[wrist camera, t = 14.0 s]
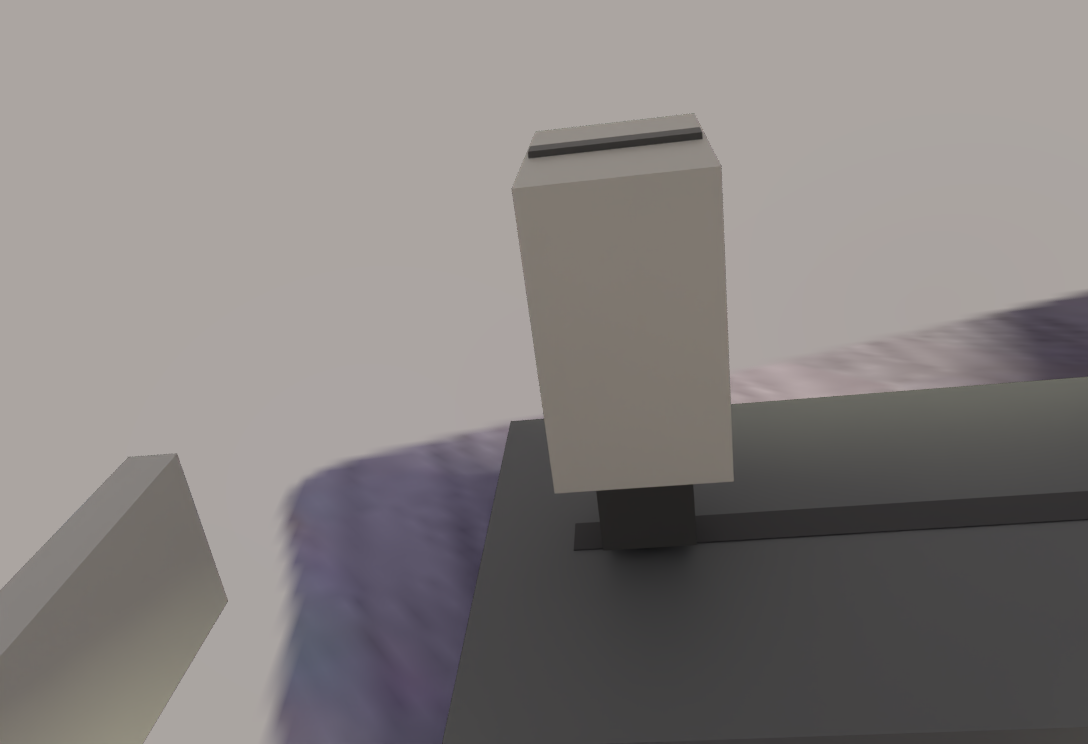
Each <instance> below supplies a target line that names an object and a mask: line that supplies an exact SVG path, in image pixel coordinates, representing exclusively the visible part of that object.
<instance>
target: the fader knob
mask: <svg viewBox="0 0 1088 744" xmlns="http://www.w3.org/2000/svg"><path fill="white" fill-rule="evenodd" d="M721 169H722V168H721V164H720V162H719V160H718V158H717V156H716V154H715V153H714V151H713V149H712V147H711V145H710V143H709V141H708V139H707V137H706V135H705V133H704V131H703V129H702V127H701V125H700V123H699V122H698V120H697V118H696V116H695V114H694V113H692V114H683V115H675V116H666V117H657V118H649V119H640V120H631V121H623V122H614V123H605V124H597V125H588V126H580V127H571V128H562V129H554V130H545V131H536V132H535V135H534V137H533V139H532V141H531V144H530V146H529V149H528V151H527V153H526V156H525V158H524V160H523V163H522V165H521V167H520V170H519V172H518V175H517V177H516V179H515V182H514V184H513V187H512V194H513V202H514V209H515V215H516V223H517V230H518V237H519V245H520V252H521V259H522V266H523V272H524V280H525V286H526V294H527V301H528V308H529V315H530V322H531V330H532V336H533V343H534V351H535V358H536V365H537V372H538V379H539V386H540V393H541V400H542V408H543V415H544V422H545V429H546V436H547V443H548V450H549V457H550V464H551V471H552V478H553V485H554V493H570V492H585V491H596V494H597V502H598V511H599V519H600V528H601V536H602V545H603V551H604V550H621V549H638V548H655V547H672V546H688V545H697V536H696V520H695V504H694V488H693V484H704V483H718V482H733V481H734V473H733V448H732V422H731V397H730V371H729V349H728V348H729V346H728V321H727V295H726V270H725V244H724V219H723V193H722V171H721Z"/></svg>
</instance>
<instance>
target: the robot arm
mask: <svg viewBox="0 0 1088 744" xmlns="http://www.w3.org/2000/svg"><path fill="white" fill-rule="evenodd" d="M227 602H228V600H227V597H226V594H225V591H224V588H223V585H222V582H221V579H220V576H219V574H218V571H217V568H216V565H215V562H214V559H213V556H212V553H211V550H210V548H209V545H208V542H207V539H206V536H205V533H204V530H203V527H202V525H201V522H200V519H199V516H198V513H197V510H196V507H195V504H194V501H193V498H192V496H191V493H190V490H189V487H188V484H187V481H186V478H185V475H184V472H183V470H182V467H181V464H180V461H179V458H178V455H177V454H164V455H151V456H136V457H128V458H127V459H126V460H125V461H124V462H123V463H122V464H121V465H120V467H119V468H118V469H117V470H116V471H115V472H114V473H113V474H112V475H111V476H110V477H109V478H108V479H107V480H106V481H105V482H104V483H103V484H102V485H101V486H100V487H99V488H98V489H97V490H96V491H95V493H93V495H92V496H91V497H90V498H89V499H88V500H87V501H86V502H85V503H84V504H83V505H82V506H81V507H80V508H79V509H78V510H77V511H76V512H75V513H74V514H73V515H72V516H71V518H69V519H68V521H67V522H66V523H65V524H64V525H63V526H62V527H61V528H60V529H59V530H58V531H57V532H56V533H55V534H54V535H53V536H52V537H51V538H50V539H49V540H48V541H47V542H46V544H44V546H43V547H42V548H41V549H40V550H39V551H38V552H37V553H36V554H35V555H34V556H33V557H32V558H31V559H30V560H29V561H28V562H27V563H26V564H25V565H24V566H23V568H22V569H21V570H19V572H17V574H16V575H15V576H14V577H13V578H12V579H11V580H10V581H9V582H8V583H7V584H6V585H5V586H4V587H3V588H2V589H1V590H0V744H143V743H144V741H145V740H146V738H147V736H148V735H149V733H150V731H151V729H152V728H153V726H154V724H155V723H156V721H157V719H158V718H159V716H160V714H161V713H162V711H163V709H164V707H165V706H166V704H167V702H168V701H169V699H170V698H171V696H172V694H173V692H174V691H175V689H176V687H177V686H178V684H179V682H180V681H181V679H182V677H183V676H184V674H185V672H186V671H187V669H188V667H189V666H190V664H191V662H192V661H193V659H194V657H195V655H196V654H197V652H198V650H199V649H200V647H201V645H202V644H203V642H204V640H205V639H206V637H207V635H208V634H209V632H210V630H211V629H212V627H213V625H214V624H215V622H216V620H217V619H218V617H219V615H220V614H221V612H222V610H223V609H224V607H225V605H226V604H227Z"/></svg>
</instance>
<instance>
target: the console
mask: <svg viewBox="0 0 1088 744" xmlns="http://www.w3.org/2000/svg"><path fill="white" fill-rule="evenodd" d="M731 422H732V448H733V473H734V481H733V482H718V483H704V484H693V488H694V504H695V520H696V536H697V545H688V546H672V547H655V548H638V549H621V550H604V551H603V545H602V536H601V528H600V519H599V511H598V502H597V494H596V491H585V492H570V493H554V485H553V478H552V471H551V464H550V457H549V450H548V443H547V436H546V429H545V422H544V419H535V420H522V421H511V423H510V428H509V432H508V437H507V442H506V446H505V451H504V456H503V460H502V465H501V470H500V474H499V479H498V484H497V489H496V493H495V498H494V503H493V507H492V512H491V517H490V521H489V526H488V531H487V535H486V540H485V545H484V549H483V554H482V559H481V564H480V568H479V573H478V578H477V582H476V587H475V592H474V596H473V601H472V606H471V610H470V615H469V620H468V624H467V629H466V634H465V639H464V643H463V648H462V653H461V657H460V662H459V667H458V671H457V676H456V681H455V685H454V690H453V695H452V699H451V704H450V709H449V714H448V718H447V723H446V728H445V732H444V737H443V742H442V744H1088V377H1078V378H1065V379H1052V380H1040V381H1027V382H1014V383H1001V384H988V385H975V386H962V387H949V388H936V389H923V390H910V391H897V392H884V393H871V394H859V395H846V396H833V397H820V398H807V399H794V400H781V401H768V402H755V403H742V404H731Z"/></svg>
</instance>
